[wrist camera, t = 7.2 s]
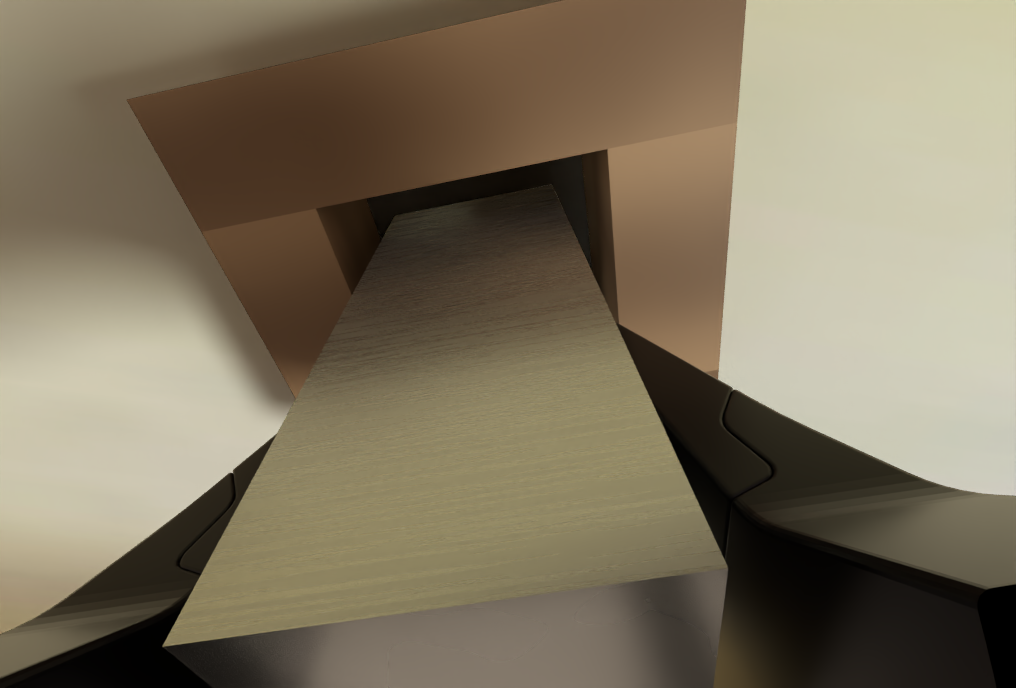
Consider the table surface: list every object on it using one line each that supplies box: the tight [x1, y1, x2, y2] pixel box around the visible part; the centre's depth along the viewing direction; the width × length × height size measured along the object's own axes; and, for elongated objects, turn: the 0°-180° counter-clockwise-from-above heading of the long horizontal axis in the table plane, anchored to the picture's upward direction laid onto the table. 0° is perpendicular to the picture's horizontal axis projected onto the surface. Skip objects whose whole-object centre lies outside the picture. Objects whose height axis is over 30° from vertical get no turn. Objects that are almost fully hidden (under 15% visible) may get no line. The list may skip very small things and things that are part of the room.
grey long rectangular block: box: [162, 184, 728, 688], centre depth 8 cm, size 4×4×10 cm
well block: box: [127, 0, 746, 398], centre depth 12 cm, size 11×11×4 cm
